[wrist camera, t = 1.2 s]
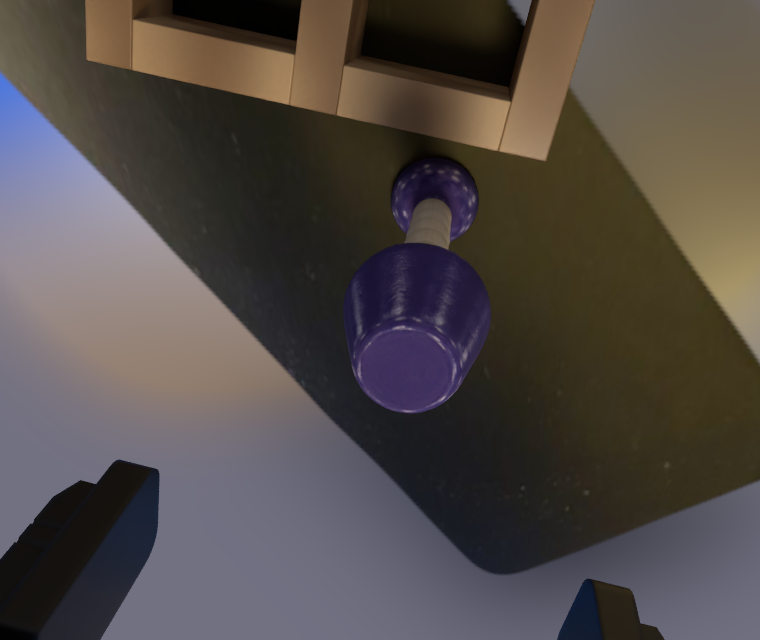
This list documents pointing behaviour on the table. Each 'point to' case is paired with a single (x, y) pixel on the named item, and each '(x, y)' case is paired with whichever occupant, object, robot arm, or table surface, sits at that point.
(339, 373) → the table surface
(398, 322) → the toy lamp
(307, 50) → the socket block
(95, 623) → the robot arm
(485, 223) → the table surface
